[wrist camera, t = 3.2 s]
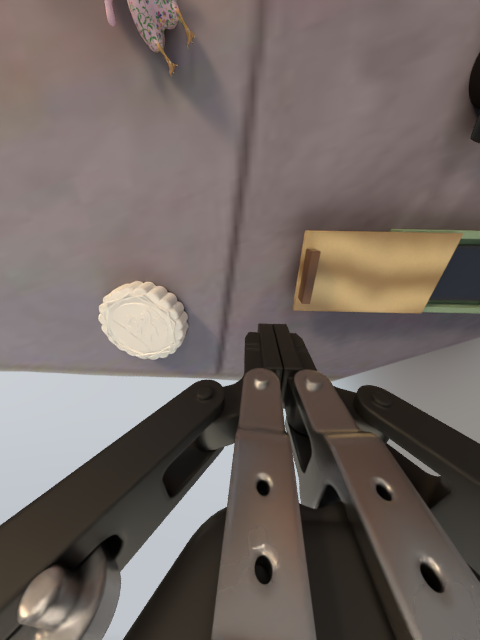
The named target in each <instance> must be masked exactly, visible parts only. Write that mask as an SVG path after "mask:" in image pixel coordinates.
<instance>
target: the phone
mask: <svg viewBox="0 0 480 640" xmlns="http://www.w3.org/2000/svg"><path fill="white" fill-rule="evenodd" d="M429 300H446V301H480V245H476V244H458V245H457V247H456V249H455V251H454V253H453V255H452V257H451V259H450V261H449V262H448V264H447V266H446V268H445V270H444V272H443V274H442V276H441V278H440V279H439V281H438V283H437V285H436V287H435V289H434V291H433V293H432V295H431V296H430V298H429Z"/></svg>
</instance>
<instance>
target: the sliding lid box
mask: <svg viewBox="0 0 480 640" xmlns="http://www.w3.org/2000/svg"><path fill="white" fill-rule="evenodd" d="M389 232H426V233H463V236H462V238H461V240H460V242H459V244H476V245H480V231H479V230H419V229H390V231H389ZM423 312H442V313H480V301H446V300H428V302H427V304H426V306H425V308H424V310H423Z"/></svg>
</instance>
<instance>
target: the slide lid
mask: <svg viewBox="0 0 480 640" xmlns="http://www.w3.org/2000/svg"><path fill="white" fill-rule="evenodd" d="M462 236H463V233H426V232H367V231H307V230H306V231H305V234H304V240H303V246H302V252H301V258H300V265H299V271H298V277H297V283H296V289H295V296H294V302H293V308H292V309H293V310H301V311H342V312H382V313H422V312H423V310H424V308H425V306H426V304H427V302H428V300H429V298H430V296H431V295H432V293H433V291H434V289H435V287H436V285H437V283H438V281H439V279H440V278H441V276H442V274H443V272H444V270H445V268H446V266H447V264H448V262H449V261H450V259H451V257H452V255H453V253H454V251H455V249H456V247H457V245H458V244H459V242H460V240H461V238H462Z"/></svg>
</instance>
